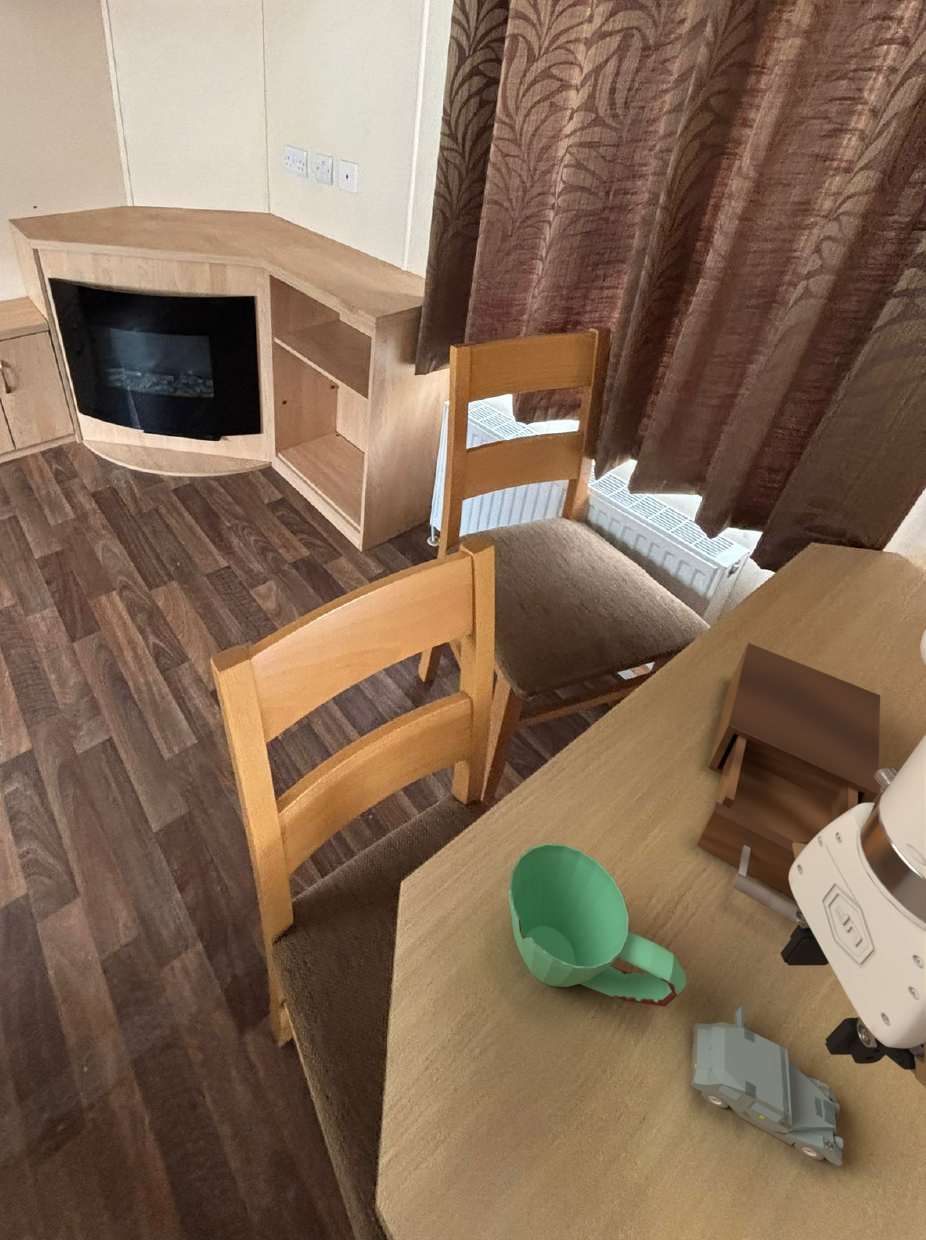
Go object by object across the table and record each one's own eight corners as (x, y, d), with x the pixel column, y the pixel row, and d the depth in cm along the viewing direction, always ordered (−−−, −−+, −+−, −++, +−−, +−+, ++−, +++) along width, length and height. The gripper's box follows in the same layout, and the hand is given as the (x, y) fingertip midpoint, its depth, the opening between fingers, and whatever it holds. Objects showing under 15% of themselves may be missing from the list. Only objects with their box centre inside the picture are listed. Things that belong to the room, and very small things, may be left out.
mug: (480, 977, 62) (494, 923, 57) (513, 878, 69) (528, 823, 64) (652, 1087, 55) (685, 1037, 50) (669, 965, 63) (699, 911, 58)
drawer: (834, 970, 62) (862, 937, 58) (686, 884, 68) (704, 850, 65) (844, 809, 74) (868, 775, 71) (719, 750, 80) (735, 715, 77)
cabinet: (846, 838, 72) (878, 794, 68) (707, 769, 79) (728, 725, 75) (852, 739, 83) (880, 695, 78) (728, 685, 89) (748, 642, 85)
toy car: (832, 1171, 51) (858, 1151, 49) (686, 1092, 55) (703, 1069, 53) (822, 1072, 56) (845, 1048, 54) (690, 1005, 60) (705, 980, 58)
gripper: (791, 733, 46) (712, 875, 55) (1008, 1057, 31) (851, 1175, 41) (902, 732, 46) (804, 874, 55) (1170, 1056, 31) (976, 1174, 41)
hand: (825, 1001), depth 48 cm, fingers open, 4 cm apart
